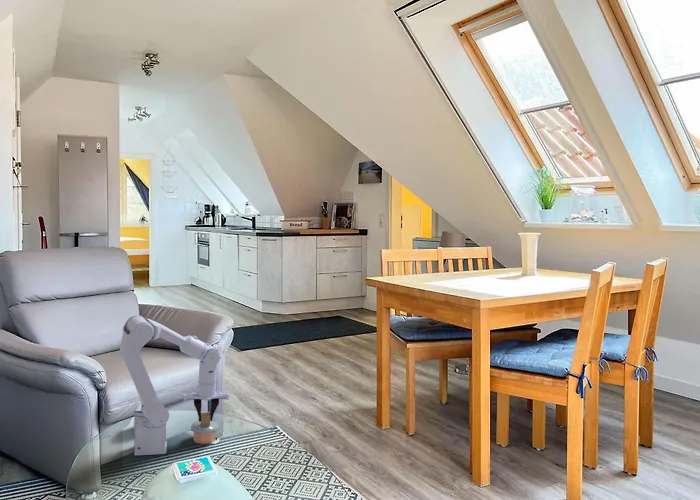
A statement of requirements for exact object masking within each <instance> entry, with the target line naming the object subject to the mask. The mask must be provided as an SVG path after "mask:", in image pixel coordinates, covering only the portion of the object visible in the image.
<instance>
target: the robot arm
mask: <svg viewBox="0 0 700 500" xmlns="http://www.w3.org/2000/svg"><path fill="white" fill-rule="evenodd" d="M159 338H161V339H162V340H165V341H168V342H170V343H172V344H174V345H177V346H179V351H180V352H181V353H184V354H185V355H188V356H190V357H191V358H194V359H195V360H199V364H198V365H199V366H198V386H197V391H193V392H187V393H186V392H185V393H183V402H188V401H193V405H194V408H195V409H196V412H197V416H198V421H199V422H200V421H201V412H202V401H210V408H209V409H210V410H209V412H210V415H211V416H210V421H213V418H214V415H215V413H216V410H217V407H218V406H219V404H220V400H225V401H229V400H230V399H229V398H230V393H229V391H226V392H225V391H217V390H216V387H217V372H218V371H217V369H218V367H217V366H218V364H219V362H220V360H221V358H222V357H221V356H220V352H219V350H218V349H216V348H215V347H214V346H212V345H211V344H210V343H209V342H207V341H206V342H203V341H202V340H200V339H198V338H199V337H198V336H196V335H193V334H192V335H186V336H183V335H181V334H179V333H178V332H176V331H174V330H172V329H170V328H169V327H166V326H165V325H163V324H161V323H160V322H157V321H154V320H153V319H150V318H145V317H144V316H142V315H141V314H140V315H139V314H136V315H135V314H134V315H132V316H130V317H129V318H128V319H127V320H126V321H125V323H124V325H123V326H122V337H121V341H120V345H119V346H120V347H119V351H120V354H121V357H122V359H123V361H124V364H125V366H126V368H127V371H128V373H129V376H130V378H131V380H132V382H133V385H134V387H135V389H136V391H137V394H138V396H139V398H140V399H139V401H140V403H141V404H142V406H141V411H142V413H143V415H145V416H144V419H143V422H141V423H136V431H135V435H134V441H133V447H134V456H149V455H150V456H152V455H153V456H154V455H165V454H167V449H168V448H167V445H168V441H167V422H169V421H168V420H169V418H170V412H169V410H168V409H167V408H166V407H165V406H164V405H163V404H162V402H161V400H160V399H159V397H158V395H157V392H156V391H155V388H154V386H153V383H152V381H151V378H150V376H149V374H148V371H147V369H146V366H145V363H144V362H143V360H142V357H141V354H140V351H141V350H142V348H143V347H144V346H145V345H146V344H147V343H148V342H149V341H150V340H151V339H152V340H154V341H155V340H156V339H159Z"/></svg>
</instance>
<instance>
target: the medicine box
mask: <svg viewBox="0 0 700 500" xmlns="http://www.w3.org/2000/svg"><path fill="white" fill-rule="evenodd" d="M141 406H142V404H141V402H140V403H139V404H138V406H137V408H136V409H135V410H134V413H133V414H134V417H133V435H134V436H135V431H136V423H141V422H143V419H144V416H145V415H143V413H142V411H141Z"/></svg>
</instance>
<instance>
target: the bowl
mask: <svg viewBox="0 0 700 500" xmlns="http://www.w3.org/2000/svg"><path fill="white" fill-rule="evenodd" d="M216 433H217V431H215V432H211V433H197V432H194V431H193V434H192V435H193V436H192V437H193V441H194V442H195V443H196V444H200V445H206V444H207V445H208V444H211V443H213V442H214V441H215V440H216Z"/></svg>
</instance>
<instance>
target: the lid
mask: <svg viewBox="0 0 700 500" xmlns="http://www.w3.org/2000/svg"><path fill="white" fill-rule="evenodd" d="M210 416H211V415H210V411H205V412H203V411H201V421H200V422H199V420H197V421H194V422H193V423H191V425H190V429H191V431H193V432H197V433H211V432H215V431H216V432H217V431H218V430H219V427H220V425H219V423H218V421H215V420H212V421H210Z"/></svg>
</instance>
